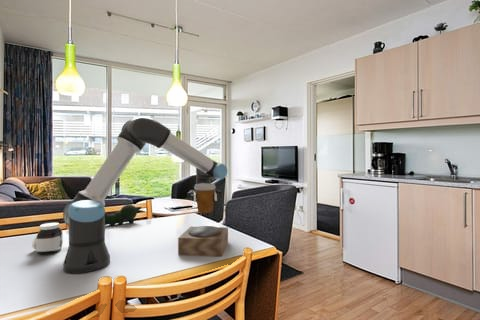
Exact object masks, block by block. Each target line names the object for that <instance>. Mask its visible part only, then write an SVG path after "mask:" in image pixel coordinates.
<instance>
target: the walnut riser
mask: <svg viewBox="0 0 480 320" xmlns="http://www.w3.org/2000/svg"><path fill="white" fill-rule="evenodd" d="M177 241H178V242H177V245H178V246H177V249H178V250H177V251H178V252H177V253H178V254H177V255H178V256H201V257H222V255H224V252H225V249H226V247H227V246H228V243H229V227H222V226H221V227H220V226H219V227H217V226H213V225H212V226H211V225H202V226H201V225H200V226H189V228H187V229H186V230H185V231H184V232H183V233H182V234H181V235H179V236H178V238H177Z"/></svg>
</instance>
